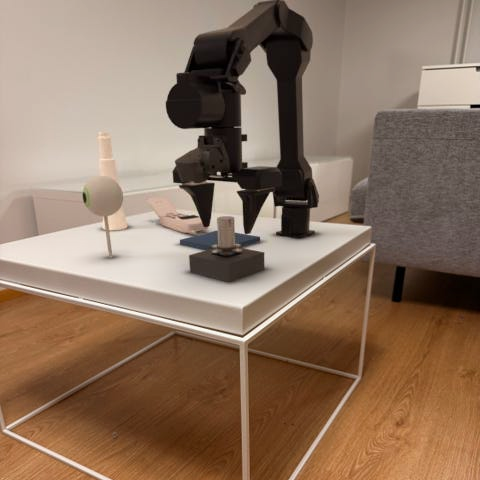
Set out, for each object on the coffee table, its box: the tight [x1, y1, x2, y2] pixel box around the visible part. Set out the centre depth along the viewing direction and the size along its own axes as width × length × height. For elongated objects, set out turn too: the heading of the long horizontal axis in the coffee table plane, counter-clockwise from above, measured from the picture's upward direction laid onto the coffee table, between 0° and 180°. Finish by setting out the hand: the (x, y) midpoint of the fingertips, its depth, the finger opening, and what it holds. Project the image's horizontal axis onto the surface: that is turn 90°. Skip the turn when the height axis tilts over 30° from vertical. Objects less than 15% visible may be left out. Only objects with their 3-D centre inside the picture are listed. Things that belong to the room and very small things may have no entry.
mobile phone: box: [145, 195, 209, 236], centre depth 114 cm, size 6×6×25 cm
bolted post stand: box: [212, 215, 242, 258], centre depth 78 cm, size 6×6×9 cm
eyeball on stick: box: [82, 175, 124, 259], centre depth 86 cm, size 7×7×15 cm
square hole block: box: [188, 247, 265, 283], centre depth 79 cm, size 9×9×3 cm
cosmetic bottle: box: [97, 131, 128, 231], centre depth 111 cm, size 6×6×22 cm
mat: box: [179, 229, 261, 251], centre depth 98 cm, size 12×12×1 cm
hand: (226, 230), depth 77 cm, fingers open, 9 cm apart
